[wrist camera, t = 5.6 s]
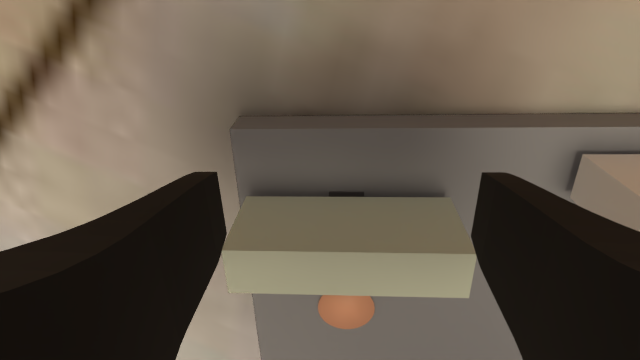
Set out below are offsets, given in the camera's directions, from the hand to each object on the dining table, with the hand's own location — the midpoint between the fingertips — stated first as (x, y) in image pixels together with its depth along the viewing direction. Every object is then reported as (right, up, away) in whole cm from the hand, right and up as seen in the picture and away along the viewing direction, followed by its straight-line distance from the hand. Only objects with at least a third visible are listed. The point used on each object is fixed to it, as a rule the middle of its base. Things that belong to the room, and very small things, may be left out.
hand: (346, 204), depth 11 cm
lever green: (0, -1, +7) cm, 7 cm away
